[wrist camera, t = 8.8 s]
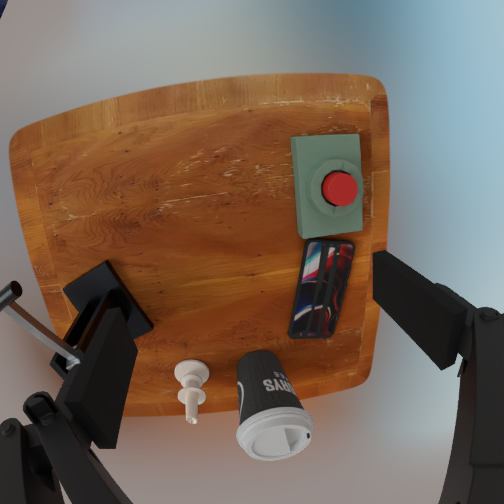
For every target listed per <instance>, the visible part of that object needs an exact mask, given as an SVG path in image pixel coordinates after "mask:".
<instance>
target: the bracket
mask: <svg viewBox="0 0 504 504" xmlns="http://www.w3.org/2000/svg"><path fill="white" fill-rule="evenodd" d="M63 291H64V293H65V294H66V296H67V297H68V298H69V300H70V301H71V303H72V304H73V305H74V307H75V308H76V309H77V311H78V312H79V313H78V315H77V317H76V318H75V320H74V322H73V323H72V325H71V327H70V328H69V330H68V332H67V333H66V335H65V337H64V339H63V341H65V342H66V343H67V344H69V345H70V346H71V347H74V346H76V345H77V346H76V348H75V350H74V354H75V355H76V356H77V357H78V358H79V359H80V360H81V361H82V359H83V357H84V354H85V352H86V350H87V348H88V346H89V344H90V342H91V340H92V338H93V336H94V334H95V332H96V330H97V328H98V326H99V324H100V322H101V320H102V318H103V316H104V314H105V312H106V310H107V309H112V308H118V307H120V309H121V311H122V314H123V316H124V319H125V321H126V324H127V326H128V328H129V331H130V333H131V336H132V338H133V339H135V338H137V337H139V336H141V335H143V334H145V333H147V332H149V331H151V330H153V327H154V325H153V323H152V322H151V321H150V319H149V318H148V317H147V315H146V314H145V313H144V311H143V310H142V309H141V307H140V306H139V305H138V303H137V302H136V300H135V299H134V298H133V296H132V295H131V293H130V292H129V291H128V289H127V288H126V286H125V285H124V283H123V282H122V280H121V279H120V278H119V276H118V275H117V273H116V272H115V270H114V269H113V267H112V266H111V264H110V263H109V261H108V260H106V261H104V262H102V263H101V264H99V265H97V266H96V267H94V268H93V269H91V270H89V271H88V272H86V273H85V274H83V275H82V276H80V277H78V278H77V279H75V280H74V281H72V282H71V283H69V284H68V285H66V286H65V287H64V288H63ZM66 361H67V359H66V358H65V357H63V356H62V355H60V354H59V353H57V352H56V353H55V355H54V356H53V358H52V360H51V362H50V366H51V367H52V368H53V369H54V370H55V371H56V372H57V373H58V374H59V375H60V377H62V379H63V380H64V381H65V378H66V376H67V373H68V371H69V370H68V369H66Z"/></svg>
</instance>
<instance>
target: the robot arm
mask: <svg viewBox="0 0 504 504" xmlns="http://www.w3.org/2000/svg"><path fill="white" fill-rule="evenodd" d="M373 299H374V300H375V301H376V302H377V303H378V304H379V305H380V306H381V307H382V309H384V310H385V312H386V313H387V314H388V315H389V316H391V318H392V319H393V320H394V321H395V322H396V323H397V324H398V325H399V326H400V327H401V328H402V329H403V330H404V331H405V332H406V333H407V334H408V335H409V336H410V337H411V338H412V340H413V341H414V342H416V344H417V345H418V346H419V347H420V348H421V349H422V350H423V351H424V352H425V353H426V354H427V355H428V356H429V357H430V359H431V360H432V361H433V362H434V363H435V364H436V365H437V366H438V367H439V369H440V370H444V369H446V368H447V367H449V366H451V365H453V364H455V361H456V357H457V354H458V353H459V354H460V355H461V356H462V357H463V359H462V362H461V366H460V369H459V372H458V375H457V377H460V389H459V400H458V410H457V418H456V425H455V432H454V439H453V444H452V450H451V455H450V460H449V465H448V469H447V474H446V478H445V482H444V486H443V490H442V494H441V497H440V501H439V503H438V504H504V313H503V314H500V313H499V312H498V311H497V310H495V309H493V308H489V307H481V308H478V309H477V308H476V307H475V306H473V305H472V304H470V303H469V302H468V301H467V300H465V299H464V298H462V297H461V296H459V295H458V294H457V293H455V292H454V291H453V290H451V289H450V288H448V287H447V286H444V285H442V284H439V283H435V284H434V283H432V282H431V281H429V280H428V279H427V278H425V277H424V276H422V275H421V274H419V273H418V272H417V271H415V270H414V269H412V268H411V267H409V266H408V265H406V264H405V263H404V262H402V261H400V260H399V259H398V258H396V257H395V256H393V255H392V254H390V253H388V252H387V251H386V250H383V251H378V252H374V253H373ZM137 353H138V349H137V347H136V345H135V343H134V340H133V338H132V336H131V333H130V331H129V328H128V326H127V324H126V321H125V319H124V316H123V314H122V311H121V309H120V307H118V308H112V309H107V310H106V312H105V314H104V316H103V318H102V320H101V322H100V324H99V326H98V328H97V330H96V332H95V334H94V336H93V338H92V340H91V342H90V344H89V346H88V348H87V350H86V352H85V354H84V357H83V359H82V361H81V363H80V364H75V365H74V366H73V367H72V368H71V369H70V370H69V371H68V373H67V376H66V378H65V381H64V382H63V384H62V387H61V388H60V391H59V393H58V395H57V397H56V400H55V402H54V400H53V399H52V397H51V396H50V395H49V394H48V393H47V392H44V391H42V392H37V393H35V394H32V395H31V396H30V397H28V398H27V400H26V401H25V403H24V405H23V411H24V413H25V414H26V415H27V416H28V418H29V419H30V420H31V422H32V423H33V424H29V425H26V426H23V425H22V424H21V423H20V422H19V421H18V420H17V419H16V418H9V419H7V420H5V421H3V423H1V425H0V504H65V503H64V500H63V496H62V491H61V487H60V483H61V484H62V486H63V488H64V490H65V492H66V494H67V495H68V497H69V499H70V501H71V503H72V504H133V503H132V502H131V501H130V499H129V498H128V497H127V496H126V495H125V493H124V492H123V491H122V490H121V488H120V487H119V486H118V485H117V483H116V482H115V481H114V479H113V478H112V477H111V475H110V474H109V473H108V471H107V470H106V469H105V468H104V466H103V464H102V463H101V462H100V460H99V459H98V457H97V456H96V454H95V453H94V452H93V450H92V449H91V448H90V446H91V442H92V441H93V442H94V443H95V444H96V446H97V447H98V448H99V449H116V444H117V438H118V434H119V429H120V423H121V419H122V415H123V410H124V406H125V401H126V397H127V393H128V388H129V384H130V380H131V376H132V372H133V368H134V364H135V360H136V356H137ZM460 374H461V376H460ZM59 481H60V483H59Z"/></svg>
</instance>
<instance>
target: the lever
mask: <svg viewBox="0 0 504 504" xmlns="http://www.w3.org/2000/svg"><path fill="white" fill-rule="evenodd" d="M21 295H22V287H21V286H20V284H19V283H18V282H17V281H12V282H11V283H9V284H8V285H7V286H6V287H5V288H3V289H2V290H1V291H0V312H1V311H2V310H3V311H4V312H5V313H6V314H8V315H9V316H10V317H11V318H12V319H14V320H15V321H16V322H17V323H19V324H20V325H21V326H22V327H24V328H25V329H26V330H27V331H29V332H30V333H31V334H33V335H34V336H35V337H37V338H38V339H39V340H41V341H42V342H43V343H45V344H46V345H47V346H49V347H50V348H52V349H53V350H54V351H56V352H57V353H59V354H60V355H62V356H63V357H65V358H66V359H67V361H66V369H68V370H70V369H71V368H72V367H73V366H74V365H75V364H80V363H81V360H80V359H79V358H78V357H77V356H76V355H75V354H74V350H75V348H76V346H77V345H76V346H74V347H71V346H70V345H69V344H67V343H66V342H65V341H63V340H62V339H60V338H59V337H58V336H56V335H55V334H54V333H53V332H51V331H50V330H49V329H47V328H46V327H45V326H44V325H42V324H41V323H40V322H39V321H37V320H36V319H35V318H34V317H32V316H31V315H30V314H29V313H28V312H26V311H25V310H24V309H23V308H22V307H21V306H19V305H18V304H17V303H16V302H15V300H16V299H17V298H19V297H20V296H21Z"/></svg>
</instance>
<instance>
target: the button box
mask: <svg viewBox="0 0 504 504" xmlns="http://www.w3.org/2000/svg"><path fill="white" fill-rule="evenodd" d="M290 140H291V150H292V161H293V173H294V185H295V198H296V212H297V227H298V234H299V235H300V236H301V237H302V238H303V239H307V238H313V237H320V236H327V235H333V234H340V233H347V232H354V231H361V230H362V196H363V194H364V191H363V177H362V174H361V154H360V138H359V134H334V135H312V136H295V137H290ZM334 172H341V173H345V174H348V175H350V176H352V177H353V178H354V179H355V181H356V183H357V187H358V192H357V196H356V198H355V200H354V201H353V202H352V203H351V204H349V205H347V206H338V205H335V204H333V203H331V202H330V201H328V200H327V199H326V198H325V196H324V194H323V183H324V181H325V179H326V177H327V176H328V175H330V174H331V173H334Z"/></svg>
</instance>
